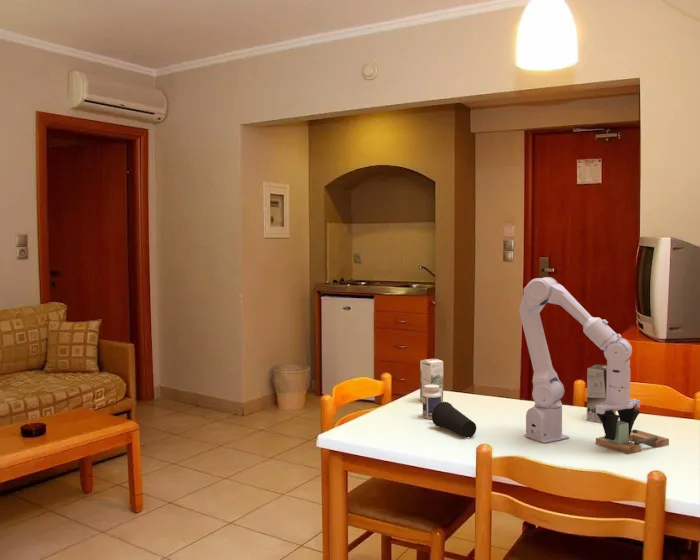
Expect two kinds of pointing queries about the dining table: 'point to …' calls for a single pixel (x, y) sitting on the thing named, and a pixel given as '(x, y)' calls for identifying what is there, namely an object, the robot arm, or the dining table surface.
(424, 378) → the syrup box
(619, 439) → the green block
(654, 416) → the dining table surface
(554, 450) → the dining table surface
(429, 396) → the pill bottle
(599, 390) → the coffee box
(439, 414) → the drinking cup
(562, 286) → the robot arm
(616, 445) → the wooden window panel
